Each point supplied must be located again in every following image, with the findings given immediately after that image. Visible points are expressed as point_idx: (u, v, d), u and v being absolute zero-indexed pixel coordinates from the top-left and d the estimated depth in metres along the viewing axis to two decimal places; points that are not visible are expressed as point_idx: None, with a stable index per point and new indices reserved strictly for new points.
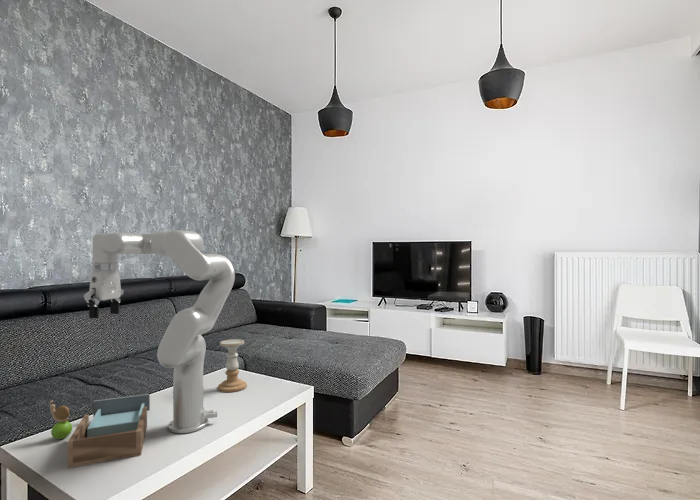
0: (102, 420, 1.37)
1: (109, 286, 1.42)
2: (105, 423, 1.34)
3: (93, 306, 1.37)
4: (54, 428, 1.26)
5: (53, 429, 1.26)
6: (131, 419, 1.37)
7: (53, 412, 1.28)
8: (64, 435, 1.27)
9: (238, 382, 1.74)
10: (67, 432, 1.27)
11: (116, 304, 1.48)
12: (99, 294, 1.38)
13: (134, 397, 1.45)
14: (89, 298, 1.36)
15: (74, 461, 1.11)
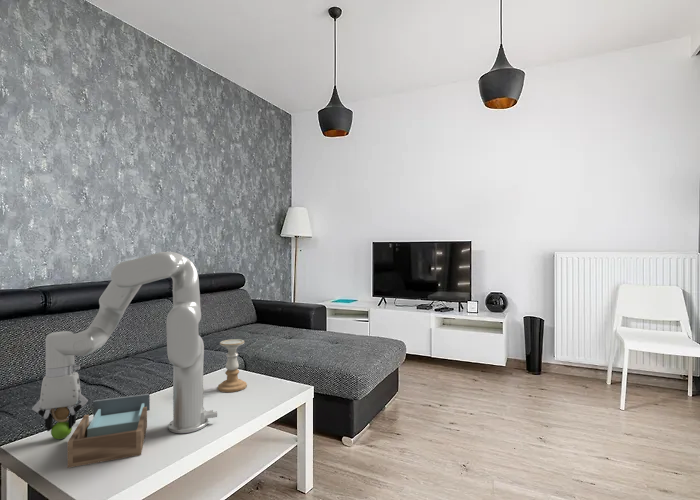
0: (102, 420, 1.37)
1: None
2: (105, 423, 1.34)
3: None
4: (54, 428, 1.26)
5: (53, 429, 1.26)
6: (131, 419, 1.37)
7: (53, 412, 1.28)
8: (64, 435, 1.27)
9: (238, 382, 1.74)
10: (67, 432, 1.27)
11: (52, 417, 1.28)
12: None
13: (134, 397, 1.45)
14: None
15: (74, 461, 1.11)
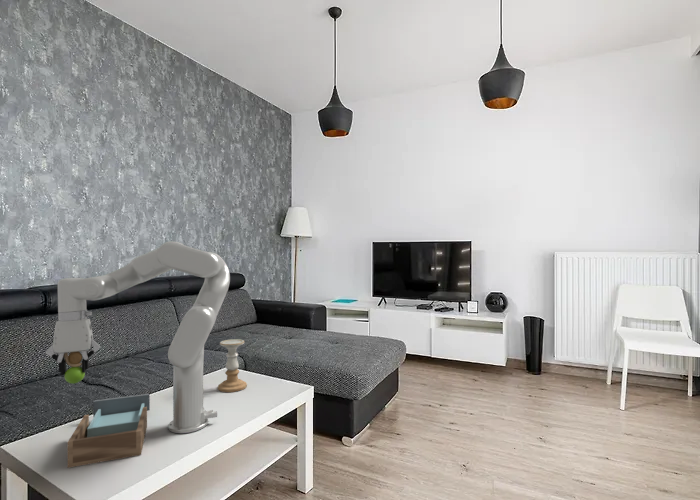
0: (102, 420, 1.37)
1: None
2: (105, 423, 1.34)
3: None
4: (67, 372, 1.27)
5: (66, 373, 1.27)
6: (131, 419, 1.37)
7: (66, 357, 1.29)
8: (77, 379, 1.28)
9: (238, 382, 1.74)
10: (80, 376, 1.28)
11: (65, 362, 1.29)
12: None
13: (134, 397, 1.45)
14: None
15: (74, 461, 1.11)
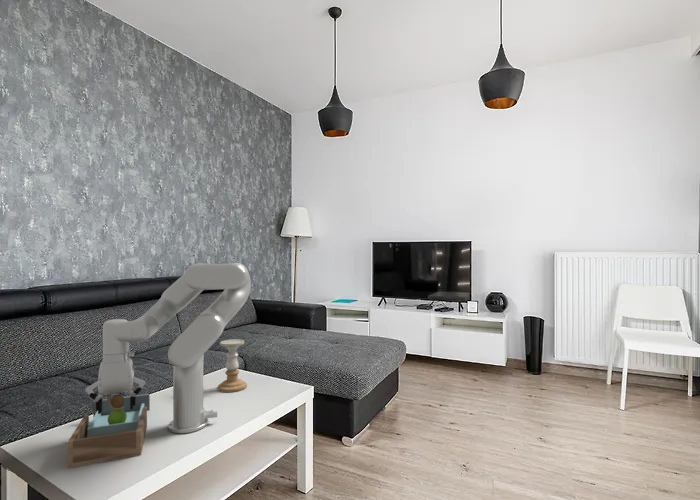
0: (102, 420, 1.37)
1: None
2: (105, 423, 1.34)
3: None
4: (110, 416, 1.30)
5: (109, 417, 1.30)
6: (131, 419, 1.37)
7: (109, 401, 1.32)
8: None
9: (238, 382, 1.74)
10: (122, 420, 1.31)
11: (101, 400, 1.31)
12: None
13: None
14: None
15: (74, 461, 1.11)
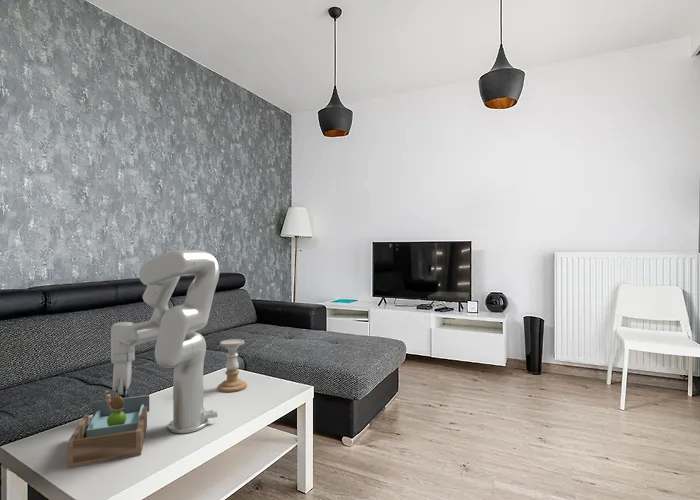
0: (101, 421, 1.36)
1: None
2: (104, 424, 1.33)
3: None
4: (110, 417, 1.29)
5: (109, 418, 1.29)
6: (130, 420, 1.36)
7: (108, 402, 1.31)
8: None
9: (238, 382, 1.74)
10: (122, 422, 1.30)
11: None
12: None
13: (134, 398, 1.44)
14: None
15: (74, 461, 1.11)
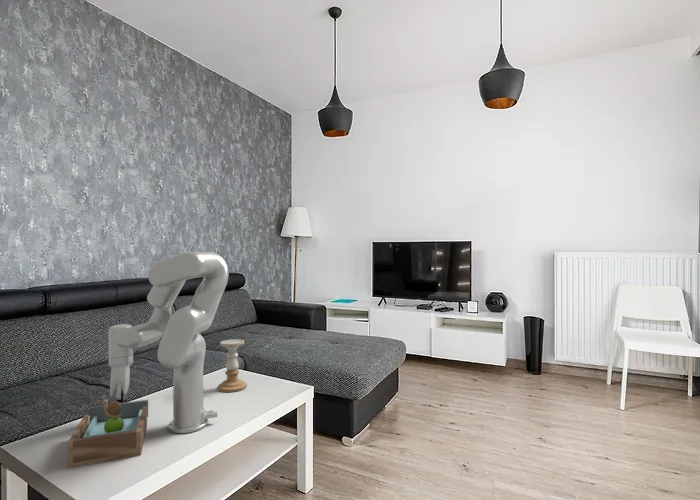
0: (98, 427, 1.31)
1: None
2: (101, 431, 1.28)
3: None
4: (107, 423, 1.24)
5: (106, 425, 1.24)
6: (128, 427, 1.31)
7: (106, 407, 1.26)
8: None
9: (238, 382, 1.74)
10: (119, 428, 1.25)
11: None
12: None
13: (132, 403, 1.39)
14: None
15: (74, 461, 1.11)
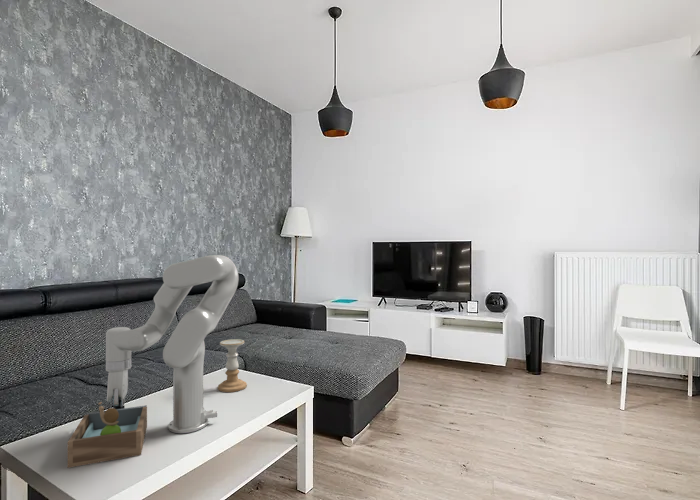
0: (94, 435, 1.25)
1: None
2: None
3: None
4: (103, 431, 1.18)
5: (102, 433, 1.18)
6: None
7: (102, 415, 1.20)
8: None
9: (238, 382, 1.74)
10: None
11: None
12: None
13: (130, 409, 1.34)
14: None
15: (74, 461, 1.11)
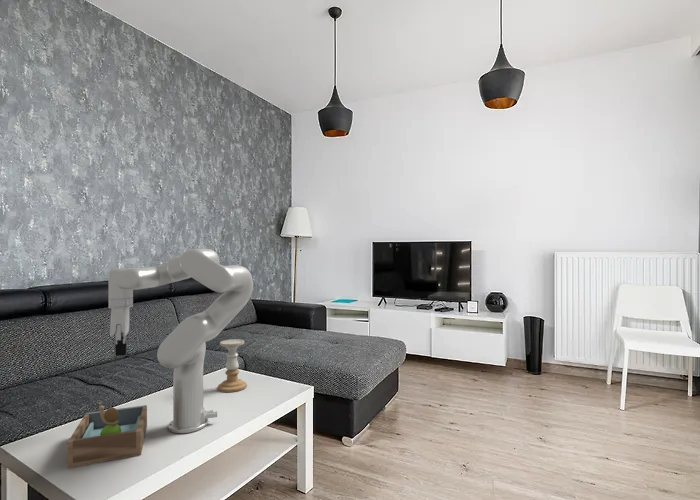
0: (94, 435, 1.26)
1: None
2: None
3: None
4: (103, 431, 1.19)
5: (102, 432, 1.19)
6: None
7: (102, 414, 1.21)
8: None
9: (238, 382, 1.74)
10: None
11: None
12: None
13: (130, 409, 1.34)
14: None
15: (74, 461, 1.11)
